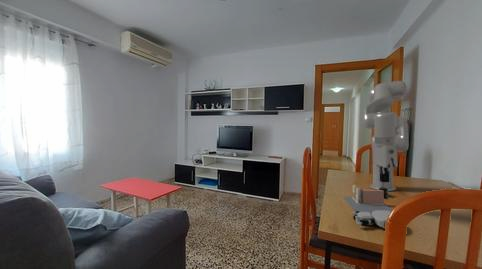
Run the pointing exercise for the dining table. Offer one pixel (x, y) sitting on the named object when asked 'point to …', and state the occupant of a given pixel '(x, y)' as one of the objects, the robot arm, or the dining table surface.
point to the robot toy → (371, 217)
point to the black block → (385, 192)
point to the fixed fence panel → (357, 194)
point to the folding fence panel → (373, 196)
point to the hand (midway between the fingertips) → (384, 181)
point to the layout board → (366, 206)
